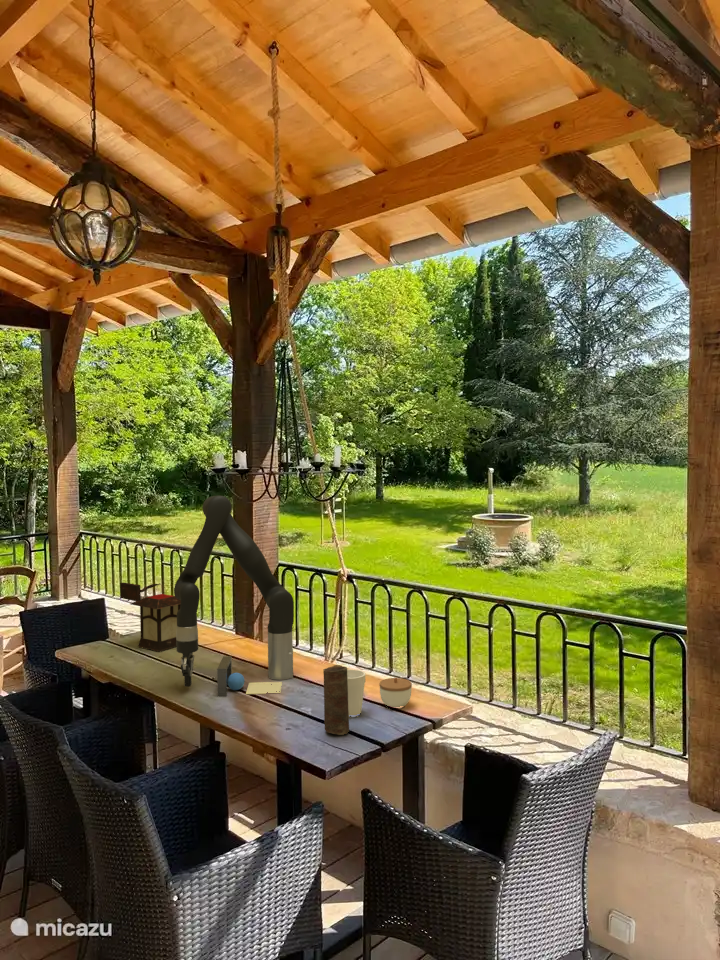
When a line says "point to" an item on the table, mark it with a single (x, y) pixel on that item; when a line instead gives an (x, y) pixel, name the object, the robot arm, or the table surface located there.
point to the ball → (236, 681)
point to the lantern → (154, 616)
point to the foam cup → (355, 690)
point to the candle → (336, 700)
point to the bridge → (224, 675)
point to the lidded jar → (395, 691)
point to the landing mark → (264, 687)
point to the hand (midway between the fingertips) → (188, 685)
